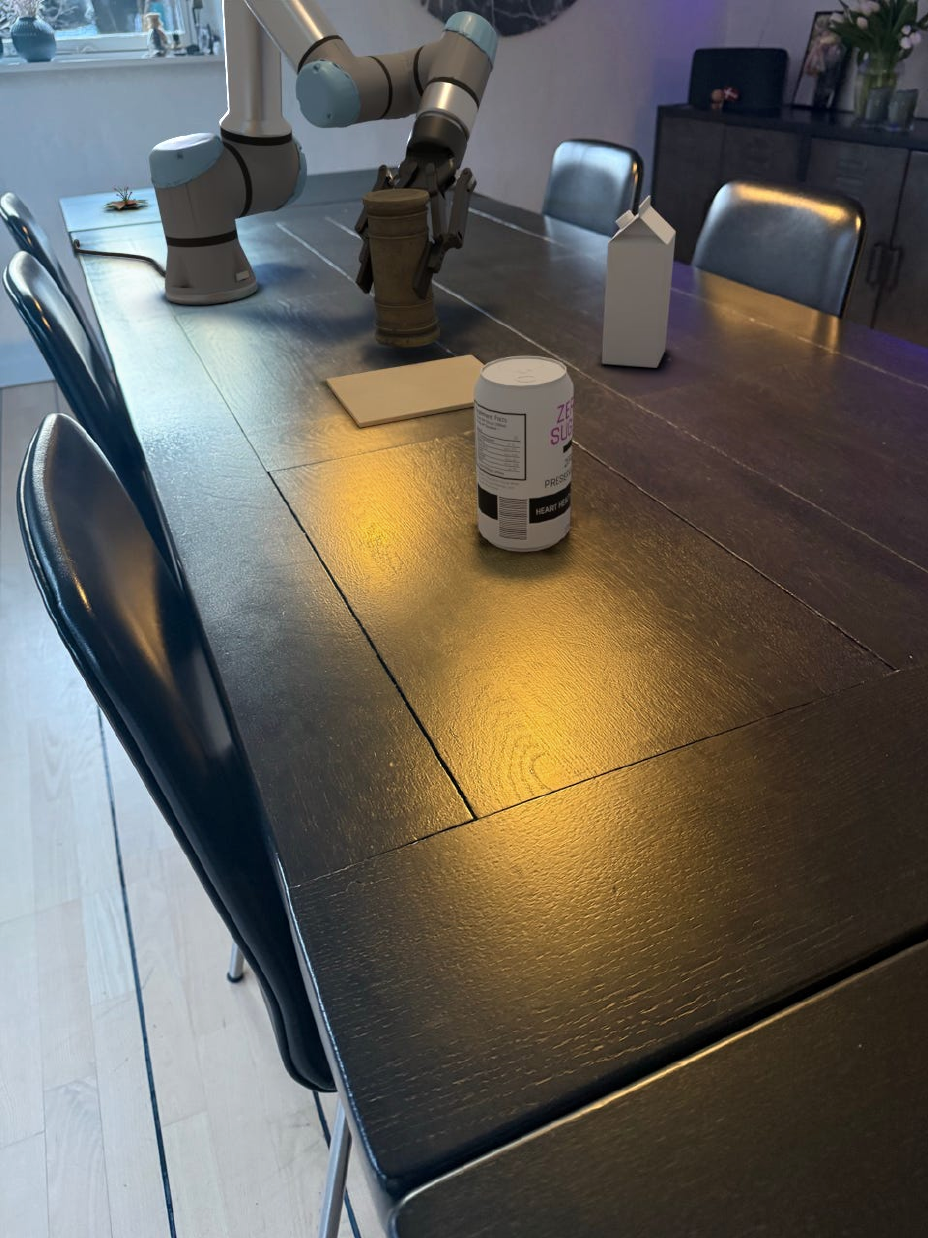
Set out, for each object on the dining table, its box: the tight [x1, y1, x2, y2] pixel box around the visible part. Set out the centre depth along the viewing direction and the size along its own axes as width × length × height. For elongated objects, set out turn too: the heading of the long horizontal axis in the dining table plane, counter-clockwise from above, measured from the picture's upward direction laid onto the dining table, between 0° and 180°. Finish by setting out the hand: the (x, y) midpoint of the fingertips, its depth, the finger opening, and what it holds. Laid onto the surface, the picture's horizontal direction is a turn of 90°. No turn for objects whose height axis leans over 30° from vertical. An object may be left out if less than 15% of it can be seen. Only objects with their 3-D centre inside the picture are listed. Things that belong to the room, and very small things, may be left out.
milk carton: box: [601, 195, 677, 369], centre depth 112 cm, size 7×7×19 cm
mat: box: [325, 354, 485, 429], centre depth 111 cm, size 16×20×1 cm
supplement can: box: [473, 355, 575, 553], centre depth 77 cm, size 8×8×15 cm
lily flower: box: [102, 186, 148, 210], centre depth 222 cm, size 12×12×5 cm
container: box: [362, 188, 441, 349], centre depth 117 cm, size 9×9×18 cm
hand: (390, 290), depth 115 cm, fingers closed on container, 8 cm apart
